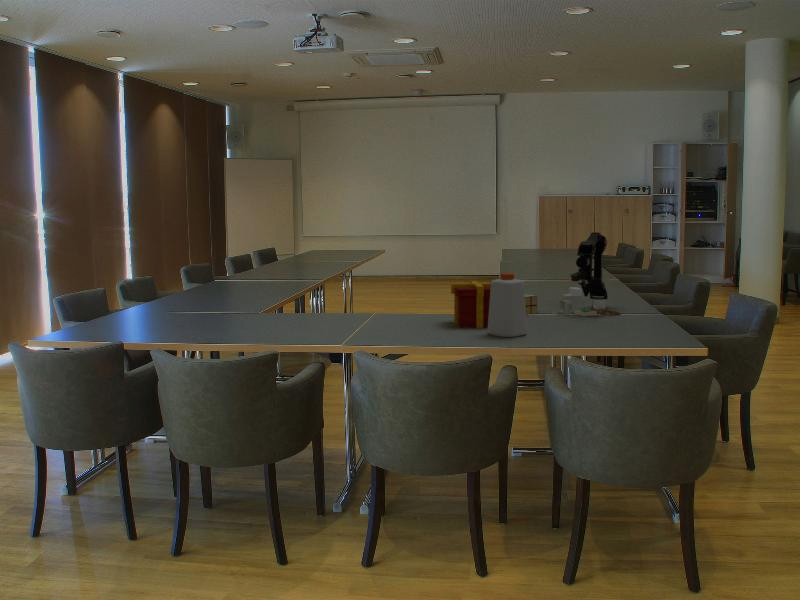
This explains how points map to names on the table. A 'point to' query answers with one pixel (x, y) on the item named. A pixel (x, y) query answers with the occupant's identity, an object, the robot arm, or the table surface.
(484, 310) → the gift box
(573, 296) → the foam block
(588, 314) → the button console
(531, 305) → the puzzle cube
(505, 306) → the plastic bottle
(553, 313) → the tray
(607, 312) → the pallet board
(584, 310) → the button
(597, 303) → the block
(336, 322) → the table surface
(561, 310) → the block
